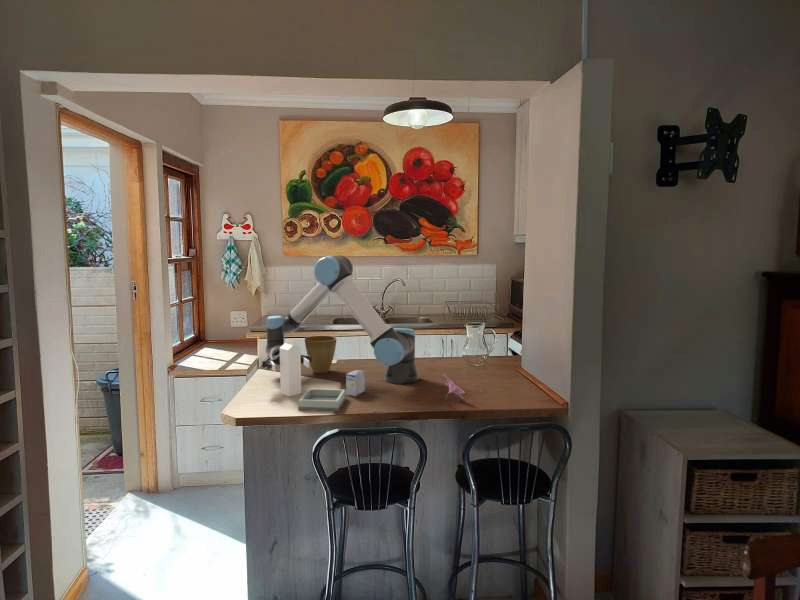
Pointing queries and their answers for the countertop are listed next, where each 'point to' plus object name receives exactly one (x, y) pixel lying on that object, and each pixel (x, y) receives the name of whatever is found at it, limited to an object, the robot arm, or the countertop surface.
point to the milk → (290, 369)
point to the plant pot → (321, 352)
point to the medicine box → (355, 382)
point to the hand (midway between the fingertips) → (291, 366)
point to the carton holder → (322, 399)
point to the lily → (453, 388)
